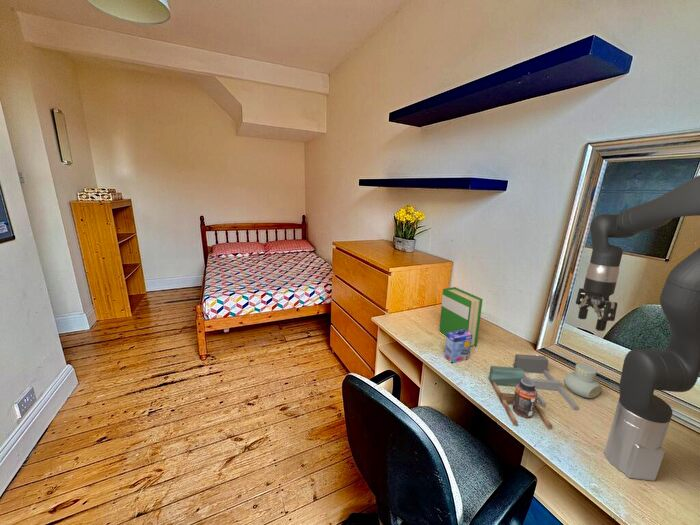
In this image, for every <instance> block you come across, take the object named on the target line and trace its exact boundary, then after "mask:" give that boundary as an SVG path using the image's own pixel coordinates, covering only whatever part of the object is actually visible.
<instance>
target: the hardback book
mask: <svg viewBox="0 0 700 525" xmlns="http://www.w3.org/2000/svg"><path fill="white" fill-rule="evenodd" d="M482 306H483V298H481V297H479V296H477V295H475V294H472V293H470V292H468V291H464V290H463V289H460V288H458V287H455V286H453V287H446V288H443V289H442V299H441V310H440V320H439V331H440V332H441V333H442V334H444V335H445V336H447V333H448V332H452V331H458V330H462V329H466V331H468V332H469V333H471V334H472V342H471V347H472V346H473V347H474V346H475V347H474V348H477V346H478V339H479V338H478V337H479V332H480V323H481V316H482V315H481V314H482ZM442 334H441V335H442ZM445 336H444V337H445Z"/></svg>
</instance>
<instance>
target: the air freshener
mask: <svg viewBox="0 0 700 525" xmlns="http://www.w3.org/2000/svg"><path fill="white" fill-rule="evenodd" d="M597 374H598V373H597V369H595V368H594V367H593V366H592V365H589V364H586V363H576V364H575V366H574V371H573V372H569V373H568V374H567V375H565V377H564V379H563V383H564V384H563V385H565V387H566V388H567V389H568V390H569V391H570V392H572V393H573V394H574V395H577V396H580V397H582V398H586V399H593V398H595V397H597V396H598V395H600V394H601V392H602V388H603V387H602V386H601V384H600V383H599V382H598V380H596V377H597Z"/></svg>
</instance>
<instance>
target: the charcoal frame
mask: <svg viewBox="0 0 700 525" xmlns="http://www.w3.org/2000/svg"><path fill="white" fill-rule="evenodd" d="M548 364H549V359H548V358H547V357H546V356H545V355H533V354H531V355H530V354H521V353H520V354H518V353H516V354H515V356H514V362H513V365H512V367H514V368H522V370H523V371H524V372H525V373H532V374H533V373H535V374H543V375H544V376H545V377H546V378H547V379H543V378H531V377H528V376H526V375H525V376H524V379H529V380H531V381H533V382H534V383H535V389H536V390H537V389H539V390H550V391H557V392H559V394H560V395H561V397H563V398H564V400H565V401H566V402H567V403H568V405H569V406H570V407H571V409H573V410H574V411H576V410H577V411H578V408H579V405H578V404H577V403H576V402H575V401H574V400H573V398H572V397H571V396H570V395H569V393H567V392H566V391H565V389H564V388H563V387H562V385H563V383H562V382H561V381H560V380H558V379H557V380H556V379H555V378H554V377H553V376H552V375H551V373H550V372H549V371H547V370H548ZM537 403H538V404H539V406H541V407H543V408H545V407H546V404H547V402H546V401H545V400H544V399H543V397H542V395H541V394H540V393H539V392H538V391H537Z"/></svg>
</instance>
